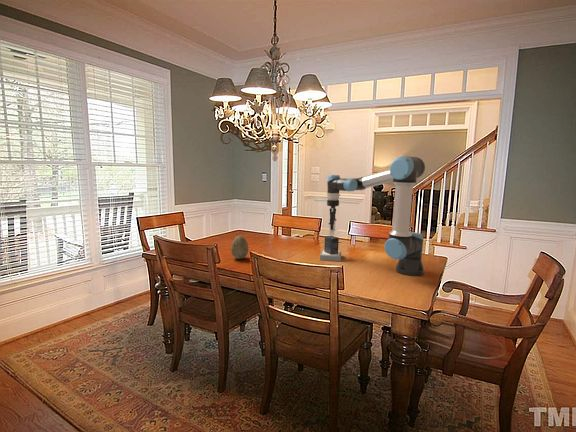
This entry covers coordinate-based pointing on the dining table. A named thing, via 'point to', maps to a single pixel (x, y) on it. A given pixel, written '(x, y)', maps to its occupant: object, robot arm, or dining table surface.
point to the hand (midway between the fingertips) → (332, 232)
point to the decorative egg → (239, 247)
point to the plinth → (330, 256)
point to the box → (331, 245)
